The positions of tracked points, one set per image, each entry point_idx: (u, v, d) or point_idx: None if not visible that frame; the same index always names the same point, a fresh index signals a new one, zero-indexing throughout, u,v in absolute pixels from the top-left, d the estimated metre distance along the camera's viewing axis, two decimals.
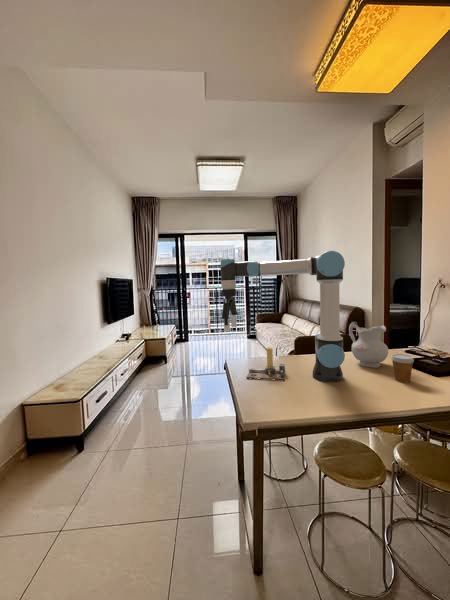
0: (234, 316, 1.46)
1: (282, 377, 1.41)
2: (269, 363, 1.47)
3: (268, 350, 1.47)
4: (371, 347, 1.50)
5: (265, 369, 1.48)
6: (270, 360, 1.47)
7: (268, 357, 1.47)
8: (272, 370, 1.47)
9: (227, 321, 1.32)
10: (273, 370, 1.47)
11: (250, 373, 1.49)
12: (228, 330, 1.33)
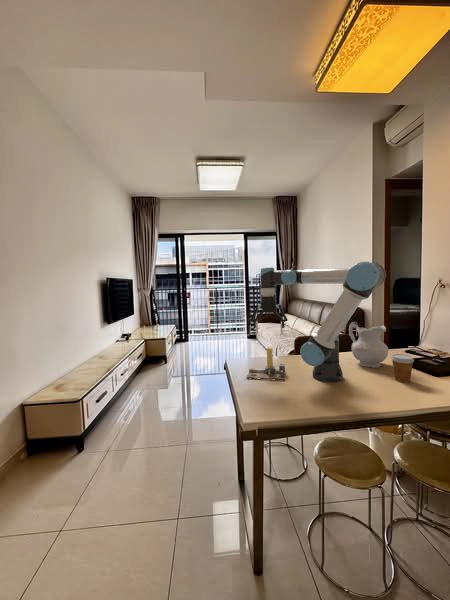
0: None
1: (282, 377, 1.41)
2: (269, 363, 1.47)
3: (268, 350, 1.47)
4: (371, 347, 1.50)
5: (265, 369, 1.48)
6: (270, 360, 1.47)
7: (268, 357, 1.47)
8: (272, 370, 1.47)
9: (254, 324, 1.50)
10: (273, 370, 1.47)
11: (250, 373, 1.49)
12: (256, 332, 1.50)
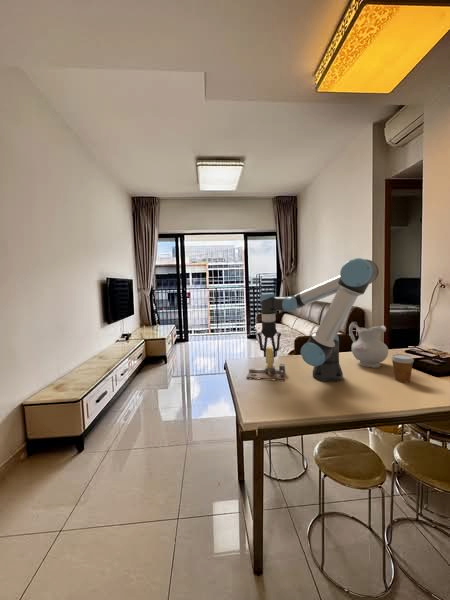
0: (272, 352, 1.48)
1: (282, 377, 1.41)
2: (269, 363, 1.47)
3: (268, 350, 1.47)
4: (371, 347, 1.50)
5: (265, 369, 1.48)
6: (270, 360, 1.47)
7: (268, 357, 1.47)
8: (272, 370, 1.47)
9: (264, 353, 1.49)
10: (273, 370, 1.47)
11: (250, 373, 1.49)
12: (266, 361, 1.49)
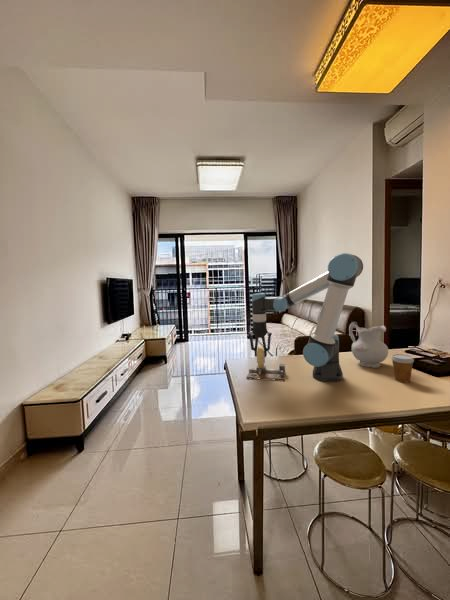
0: None
1: (282, 377, 1.41)
2: (260, 363, 1.49)
3: (259, 350, 1.48)
4: (371, 347, 1.50)
5: (256, 369, 1.49)
6: (261, 360, 1.48)
7: (259, 357, 1.48)
8: (263, 370, 1.48)
9: (255, 353, 1.50)
10: (264, 370, 1.48)
11: (250, 373, 1.49)
12: (257, 361, 1.50)
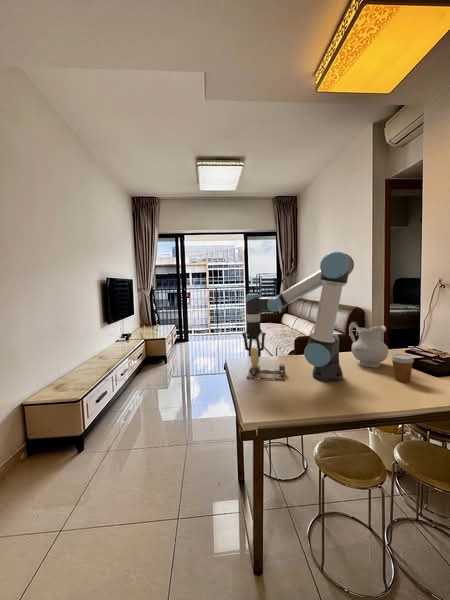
0: None
1: (282, 377, 1.41)
2: (254, 362, 1.49)
3: (253, 350, 1.49)
4: (371, 347, 1.50)
5: (250, 368, 1.50)
6: (255, 360, 1.49)
7: (253, 357, 1.49)
8: (257, 369, 1.49)
9: (249, 353, 1.51)
10: (258, 369, 1.49)
11: (250, 373, 1.49)
12: (251, 361, 1.51)
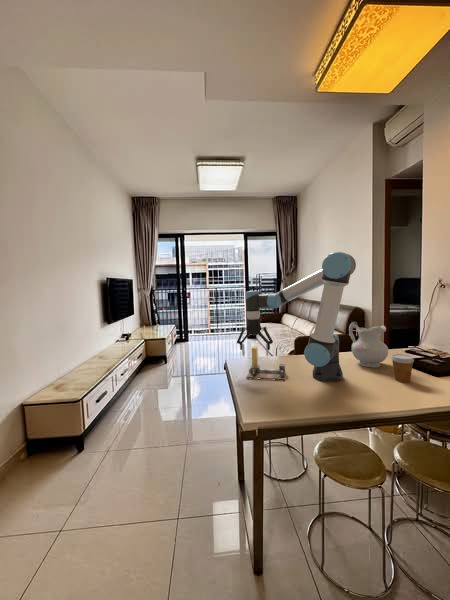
0: (266, 345, 1.48)
1: (282, 377, 1.41)
2: (254, 362, 1.49)
3: (253, 350, 1.49)
4: (371, 347, 1.50)
5: (250, 368, 1.50)
6: (255, 360, 1.49)
7: (253, 357, 1.49)
8: (257, 369, 1.49)
9: (241, 346, 1.52)
10: (258, 369, 1.49)
11: (250, 373, 1.49)
12: None
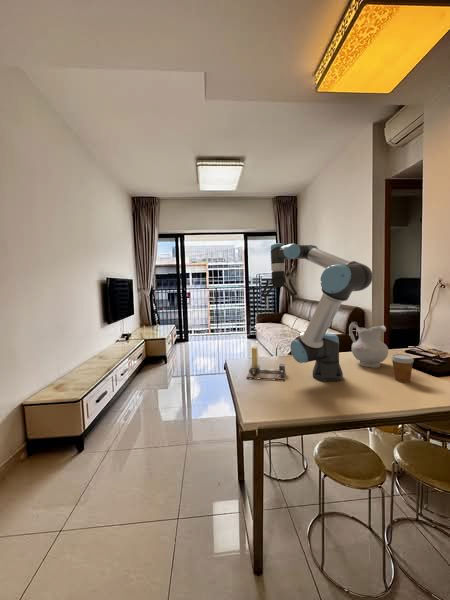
0: None
1: (282, 377, 1.41)
2: (254, 362, 1.49)
3: (253, 350, 1.49)
4: (371, 347, 1.50)
5: (250, 368, 1.50)
6: (255, 360, 1.49)
7: (253, 357, 1.49)
8: (257, 369, 1.49)
9: (265, 299, 1.55)
10: (258, 369, 1.49)
11: (250, 373, 1.49)
12: None
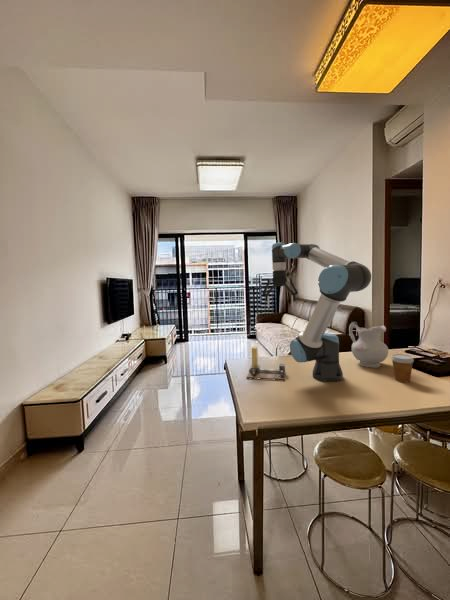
0: (291, 296, 1.53)
1: (282, 377, 1.41)
2: (254, 362, 1.49)
3: (253, 350, 1.49)
4: (371, 347, 1.50)
5: (250, 368, 1.50)
6: (255, 360, 1.49)
7: (253, 357, 1.49)
8: (257, 369, 1.49)
9: (266, 298, 1.56)
10: (258, 369, 1.49)
11: (250, 373, 1.49)
12: None
